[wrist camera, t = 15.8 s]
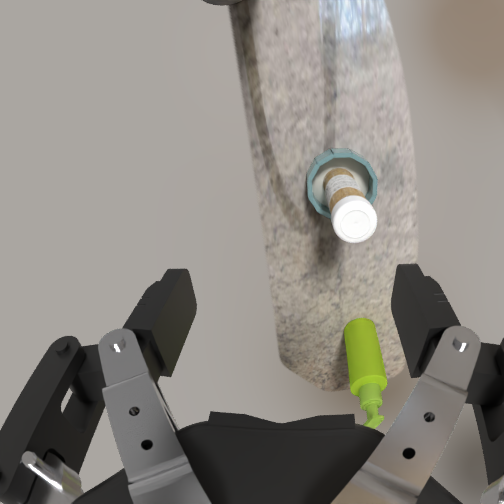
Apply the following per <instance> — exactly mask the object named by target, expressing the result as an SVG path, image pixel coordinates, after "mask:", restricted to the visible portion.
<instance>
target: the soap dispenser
mask: <svg viewBox="0 0 504 504" xmlns="http://www.w3.org/2000/svg"><path fill="white" fill-rule="evenodd" d="M344 337H345V345H346V353H347V361H348V370H349V380H350V390H351V392H352V394H354V395H355V396H358V397H359V398H360V407H361V409H363V410H365V411H367V419H368V420H367V421H366V423H365V424H363V425H364V426H367V427H370V428H373V429H375V428H376V427H377V426H378V425H379V424H380V423H381V422H382V421H383V420H384V416H381V415H379V414H378V408H379V407H380V406H381V405H382V396H381V391H383V390H384V389H385V387H386V386H387V378H386V373H385V368H384V363H383V359H382V354H381V350H380V345H379V341H378V337H377V333H376V328H375V325H374V323H373V322H372V321H371V320H369V319H366V318H359V319H355V320H353V321H351V322H349V323H348V324H347V325H346V327H345V329H344Z"/></svg>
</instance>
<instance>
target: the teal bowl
mask: <svg viewBox="0 0 504 504" xmlns="http://www.w3.org/2000/svg"><path fill="white" fill-rule="evenodd" d="M315 158H316V159H315ZM315 158H314V160H313V162H312V164H311V166H310V168H309V169H308V171H307V192H308V198H309V200H310V201H311V203H312V204H313V206H314V207H315V209H316V211H317V212H318V213H320V214H322V215H324V216H326V217H328V218H329V219H331V213H330V210H329V206H328V202H327V198H326V194H325V191H324V188H323V180H324V177H325V175H326V174H327V173H328V172H329V171H331V170H332V169H335V168H342V169H346V170H348V171H349V172H350V173H351V174H352V175H353V177H354V178H355V181H356V182H357V183H358V185H359V187H360V188H361V190H362V192H363V194H364V196H365V198H366V200H368V201H369V202H370V204H371V205H372V203H373V202H374V200H375V199H376V196H377V180H378V179H377V177H376V175H375V173H374V171H373V169H372V167H371V166H370V164H369V162H368V161H367V160H366V159H365V158H364V157H363V156H361V155H359V154H357V153H356V152H354V151H352V150H350V149H348V148H331V150H330V149H329V150H327V151H325V152H324V153H322V154H320V155H319V156H317V157H315Z"/></svg>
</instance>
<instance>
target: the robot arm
mask: <svg viewBox="0 0 504 504" xmlns="http://www.w3.org/2000/svg"><path fill="white" fill-rule="evenodd" d="M203 1H205V2H207V3H209V4H213V5H230V4H235V3H238V2H240V1H242V0H203ZM196 309H197V304H196V298H195V294H194V290H193V286H192V282H191V278H190V274H189V271H188V270H187V269H168V270H167V271H166V273H165V274H164V276H163V277H162V279H161V281H156V282H155V283H154V284H152V285H151V286H150V287H149V288H147V290H146V291H145V293H144V294H143V296H142V299H140V300H139V302H138V304H137V306H136V307H135V308H134V310H133V312H132V313H131V315H130V316H129V318H128V320H127V321H126V323H125V324H124V326H123V328H122V329H116V330H113V331H111V332H109V333H107V334H106V335H105V336H103V338H102V339H101V340H100V342H99V344H97V345H89V346H81V344H80V343H79V341H78V339H77V338H75V337H73V336H65V337H62V338H59V339H58V340H56V341H55V342H54V343H53V344H52V345H51V346H50V347H49V349H48V350H47V352H46V353H45V355H44V356H43V358H42V359H41V361H40V363H39V364H38V366H37V367H36V369H35V371H34V372H33V374H32V376H31V377H30V379H29V380H28V382H27V384H26V386H25V387H24V389H23V391H22V392H21V394H20V396H19V397H18V399H17V401H16V403H15V404H14V406H13V408H12V410H11V412H10V413H9V415H8V417H7V419H6V421H5V423H4V425H3V426H2V428H1V430H0V502H2V503H4V504H462V503H461V502H460V501H459V500H458V499H457V498H455V497H454V496H453V495H452V494H451V493H450V492H448V491H447V490H446V489H445V488H444V487H443V486H442V485H441V484H440V483H438V482H437V481H436V480H435V479H434V478H433V477H432V476H431V474H432V471H433V470H434V468H435V466H436V464H437V463H438V460H439V459H440V457H441V455H442V453H443V451H444V449H445V447H446V445H447V443H448V441H449V438H450V436H451V434H452V432H453V430H454V427H455V425H456V423H457V421H458V418H459V416H460V413H461V411H462V409H463V406H464V404H465V403H468V404H472V405H473V409H474V413H475V417H476V421H477V425H478V430H479V434H480V439H481V444H482V449H483V454H484V459H485V465H486V471H487V478H488V485H489V486H488V487H487V488H486V489H485V491H484V492H483V494H482V497H481V502H480V504H504V338H503V340H502V342H501V344H500V345H496V344H489V343H482V342H480V339H479V337H478V335H477V334H475V332H473V331H472V330H471V329H469V328H466V327H464V326H461V324H460V323H459V320H458V319H457V317H456V315H455V313H454V311H453V309H452V307H451V305H450V303H449V302H448V300H447V298H446V296H445V294H444V292H443V291H442V289H441V287H440V285H439V284H438V283H437V282H436V281H435V280H434V279H432V278H431V277H430V276H424V275H423V273H422V271H421V269H420V267H419V266H418V264H399V265H398V266H397V269H396V275H395V281H394V286H393V292H392V298H391V310H392V315H393V318H394V321H395V324H396V327H397V330H398V334H399V337H400V340H401V344H402V347H403V350H404V354H405V357H406V361H407V365H408V368H409V372H410V376H411V378H417V377H420V379H419V381H418V382H417V384H416V386H415V388H414V390H413V391H412V393H411V395H410V396H409V398H408V400H407V402H406V403H405V405H404V407H403V408H402V410H401V411H400V413H399V415H398V416H397V418H396V420H395V421H394V423H393V424H392V426H391V427H390V429H389V430H388V432H387V433H386V435H384V434H383V433H381V432H379V431H377V430H375V429H373V428H370V427H367V426H364V425H360V424H355V418H354V414H346V415H323V416H321V415H320V416H315V417H311V418H306V419H302V420H297V421H292V422H287V423H276V422H271V421H268V420H264V419H260V418H257V417H253V416H249V415H246V414H235V413H221V412H212V411H211V412H210V416H209V420H208V421H204V422H199V423H195V424H192V425H189V426H186V427H184V428H182V429H179V427H178V425H177V423H176V421H175V419H174V417H173V415H172V413H171V411H170V409H169V406H168V404H167V402H166V400H165V398H164V395H163V393H162V391H161V389H160V387H159V384H158V379H159V377H160V376H167V377H171V376H172V373H173V371H174V368H175V366H176V363H177V361H178V358H179V356H180V353H181V350H182V348H183V345H184V343H185V340H186V338H187V335H188V333H189V330H190V328H191V325H192V323H193V320H194V318H195V315H196ZM69 388H70V389H71V391H72V392H73V393H72V395H71V397H70V399H69V401H68V403H67V405H66V407H65V409H64V411H63V413H62V412H61V403H62V401H63V398H64V397H65V395H66V393H67V391H68V389H69ZM105 406H106V409H107V413H108V417H109V420H110V424H111V427H112V431H113V434H114V437H115V441H116V444H117V447H118V450H119V454H120V457H121V459H122V462H123V465H124V468H123V469H122V470H120V471H119V472H117V473H116V474H114V475H113V476H111V477H110V478H108V479H107V480H105V481H103V482H102V483H100V484H99V485H97V486H95V487H94V488H92V489H90V490H89V491H87V492H85V493H84V492H83V490H82V489H81V480H80V477H79V472H80V469H81V467H82V464H83V461H84V458H85V456H86V453H87V451H88V448H89V445H90V443H91V440H92V437H93V435H94V433H95V430H96V427H97V425H98V423H99V420H100V418H101V415H102V413H103V410H104V408H105Z"/></svg>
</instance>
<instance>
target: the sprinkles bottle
mask: <svg viewBox="0 0 504 504" xmlns="http://www.w3.org/2000/svg"><path fill="white" fill-rule="evenodd" d="M323 188H324V191H325V194H326V198H327V202H328V206H329V210H330V213H331V222H332V225H333V229H334V231H335V233H336V235H337V236H338V237H339V238H340V239H342V240H343V241H345V242H349V243H359V242H363V241H365V240H367V239H368V238H369V237H370V236H371V235H372V234H373V233H374V231H375V229H376V226H377V215H376V212H375V210H374V209H373V207H372V205H371V204H370V202H369V201H368V200H366V198H365V196H364V194H363V192H362V190H361V188H360V187H359V185H358V183H357V182H356V181H355V178H354V177H353V175H352V174H351V173H350V172H349V171H348V170H346V169H342V168H335V169H332V170H331V171H329V172H328V173H327V174H326V175H325V177H324V180H323Z"/></svg>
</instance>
